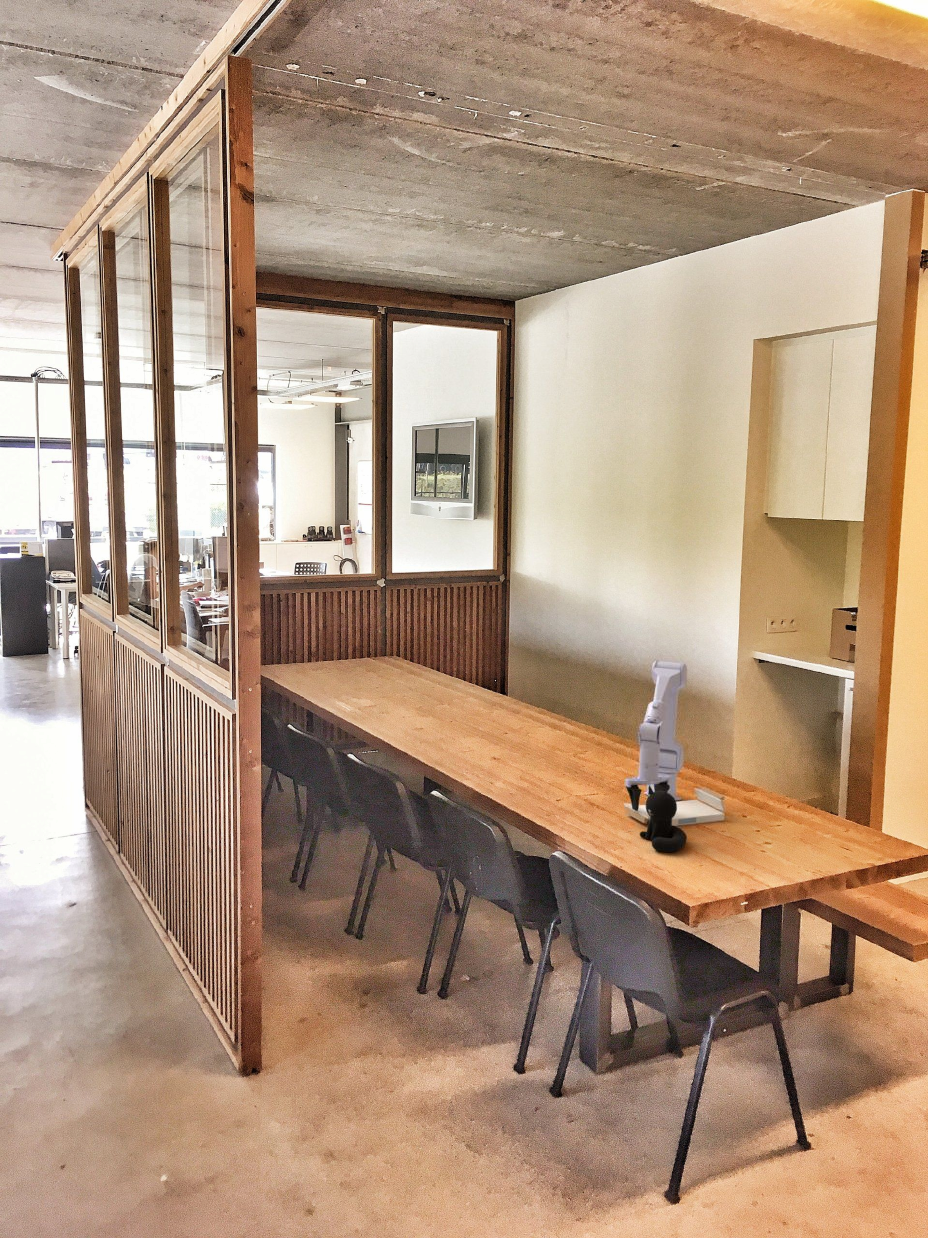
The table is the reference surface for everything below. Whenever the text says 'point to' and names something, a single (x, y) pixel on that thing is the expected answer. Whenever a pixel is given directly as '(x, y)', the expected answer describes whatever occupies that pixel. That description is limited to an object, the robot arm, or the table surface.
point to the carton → (693, 813)
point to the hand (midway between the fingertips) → (646, 808)
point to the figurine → (663, 822)
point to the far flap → (710, 797)
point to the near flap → (637, 813)
